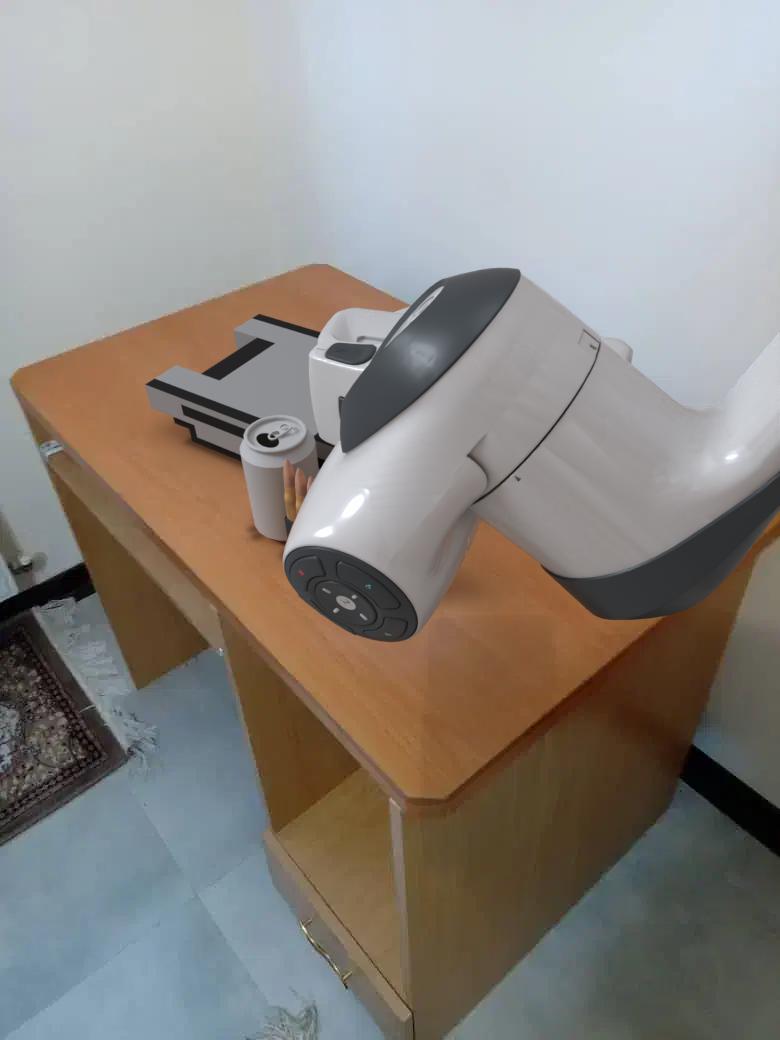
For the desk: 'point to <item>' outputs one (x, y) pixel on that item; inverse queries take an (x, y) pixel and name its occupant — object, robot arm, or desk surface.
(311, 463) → the can
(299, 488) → the ammunition clip
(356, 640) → the desk surface
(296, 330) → the game console
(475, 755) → the desk surface
